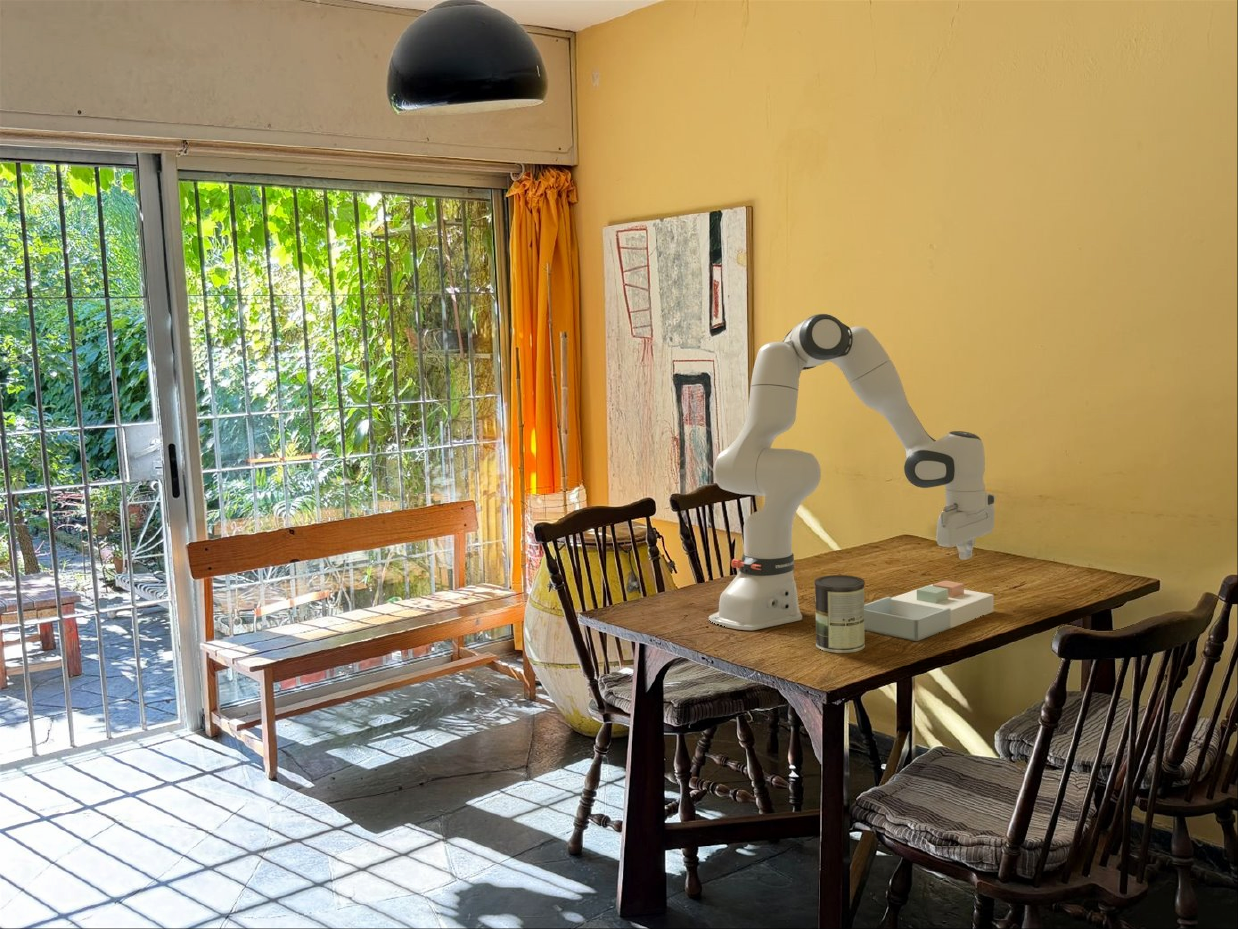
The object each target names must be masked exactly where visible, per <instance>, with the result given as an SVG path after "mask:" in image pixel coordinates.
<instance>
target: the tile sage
mask: <svg viewBox="0 0 1238 929" xmlns="http://www.w3.org/2000/svg"><path fill="white" fill-rule="evenodd" d="M925 586H926V587H925ZM925 586H923V588H922V587H920V589H919V588H917V600H919V601H924V602H930V603H935V604H937V603H939V602H942V601H945V600H948V589H946V588H940V587H934V586H928V585H925Z"/></svg>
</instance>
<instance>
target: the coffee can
mask: <svg viewBox="0 0 1238 929" xmlns="http://www.w3.org/2000/svg"><path fill="white" fill-rule="evenodd" d="M865 581H866V580H864V579H863V578H861V577H859V576H854V575H846V574H845V575H842V574H838V575H837V574H833V575H824V576H820V577H818V578H816V579H814V581H813V582H814V594H815V596H814V599H815V600H814V604H815V647H816V648H817V649H818V650H820V649H821V650H820V651H822V650H823V652H826V651H827V652H828V653H833V654H850V653H856V652H859V651H863V649H865V647H866V645H865V630H864V605H865V584H866V582H865ZM827 652H826V653H827Z"/></svg>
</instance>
